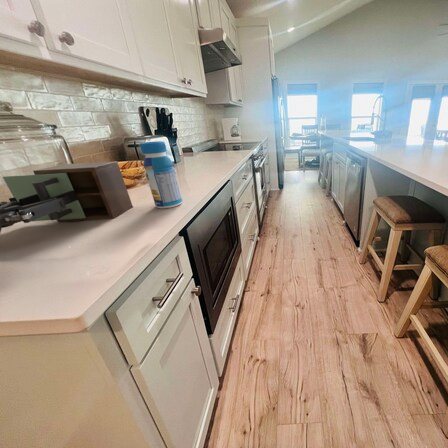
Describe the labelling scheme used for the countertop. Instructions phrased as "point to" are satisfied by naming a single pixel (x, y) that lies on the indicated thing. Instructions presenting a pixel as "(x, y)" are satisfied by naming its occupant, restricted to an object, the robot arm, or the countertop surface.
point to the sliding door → (45, 192)
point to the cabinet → (95, 188)
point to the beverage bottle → (160, 175)
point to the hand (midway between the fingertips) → (60, 196)
